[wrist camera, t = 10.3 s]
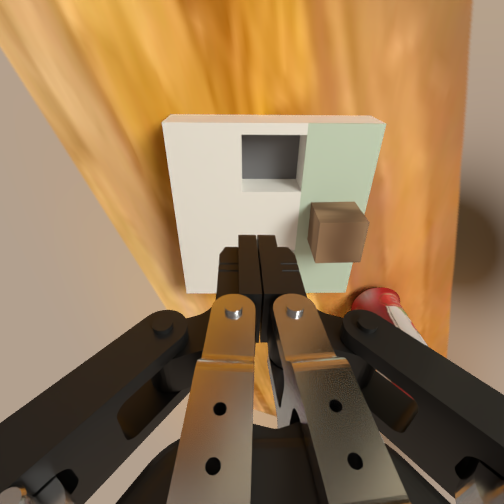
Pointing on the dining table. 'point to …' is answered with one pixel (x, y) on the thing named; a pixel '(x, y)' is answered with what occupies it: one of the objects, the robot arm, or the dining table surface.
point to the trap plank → (264, 184)
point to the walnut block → (337, 232)
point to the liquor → (387, 311)
